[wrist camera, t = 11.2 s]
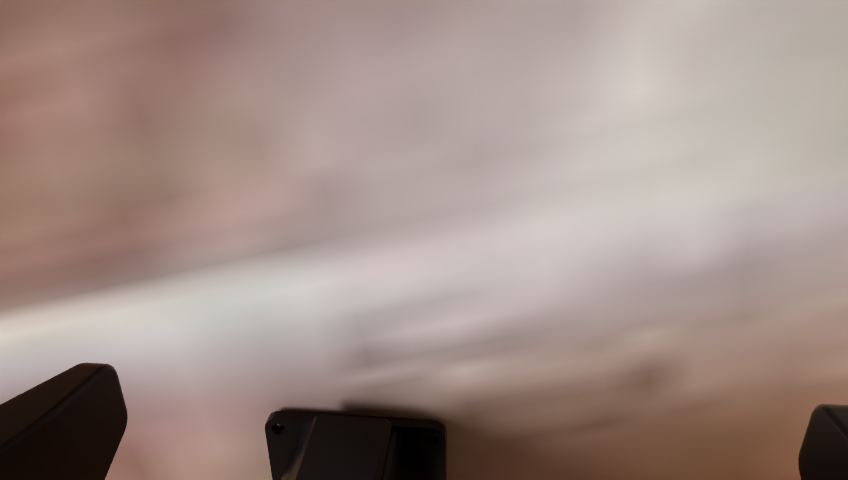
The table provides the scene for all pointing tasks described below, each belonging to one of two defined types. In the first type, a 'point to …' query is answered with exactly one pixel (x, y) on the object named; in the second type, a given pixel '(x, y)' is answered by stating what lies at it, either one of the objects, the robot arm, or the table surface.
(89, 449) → the robot arm
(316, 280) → the table surface
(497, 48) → the table surface
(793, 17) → the table surface
